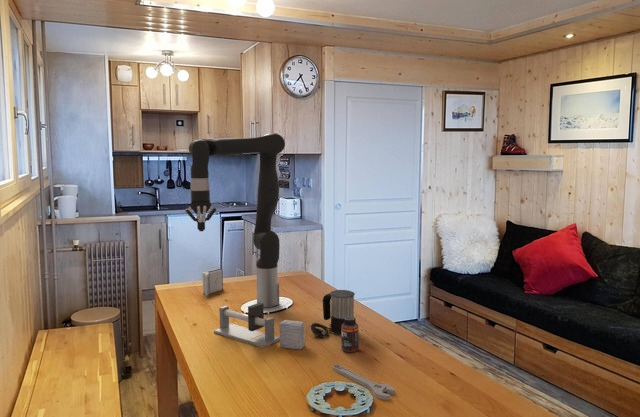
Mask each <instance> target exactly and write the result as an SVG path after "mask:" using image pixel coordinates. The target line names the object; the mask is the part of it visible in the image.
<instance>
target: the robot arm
mask: <svg viewBox="0 0 640 417" xmlns="http://www.w3.org/2000/svg"><path fill="white" fill-rule="evenodd" d="M285 147H286V141H285V138H284V137H283V136H282V135H281V134H279V133H275V132H271V133H265V134H264V135H262V136H258V137H231V138H230V137H227V138H216V139H195V140H193V141H191V142H190V143H189V145H188V152H189V153H190V155H191V160H192V162H191V163H192V164H191V165H190V204H189V206H188V207H187V208H185V210H184V211H185V213H186V214H187V215H188V216H189V218H190V219H191V220H193V221H194V222H196V224H197V230H198V231H199V232H204V231H205V230H206V222H207V221H210V220H211V219H212V217H213V215H214V214H215V213H216V211H217V208H216V207H214V206H212V203H211V196H210V195H211V194H210V192H211V191H210V178H209V173H210V172H209V162H210V157H212V156H214V157H215V156H217V157H218V156H219V157H220V156H221V157H223V156H237V155H244V154H254V153H255V154H257V153H259V172H258V173H259V174H258V181H257V182H258V185H257V194H256V195H257V200H256V216H255V217H256V218H255V223H254V224H255V225H254V231H253V238H252V242H253V245H254V247H255V248H256V249H257V250H259V251H260V252H259V253H260V254H259V258H258V259H257V260H256V261H255V262H256V263H255V264H256V266H255V267H256V268H255V269H256V270H255V271H256V272H255V273H256V304H257V303H264V307H269V308H274V307H277V306H280V284H279V282H278V274H279V273H278V263H279V261H280V248H281V246H280V238H279V235H278V233H276V232H274V231H272V229H271V228H272V226H271V225H272V218H273V216H274V213H275V210H276V208H277V206H278V202H279V198H280V197H279V196H280V182H279V176H278V172H277V157H278V154H281V153H282V152H283V151H284V149H285ZM208 211H209V212H208ZM192 212H193V213H195V215H194V214H193V213H192ZM207 213H208V214H207ZM195 216H196V217H195ZM276 305H277V306H276ZM273 306H274V307H273Z"/></svg>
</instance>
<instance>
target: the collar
mask: <svg viewBox="0 0 640 417" xmlns="http://www.w3.org/2000/svg"><path fill="white" fill-rule="evenodd" d="M264 309H265V308H264V303H257V302H256V303H255V304H251V305H249V306H247V315H248V322H247V325H248V327H247V328H248V330H249V331H252V332H253V331H255V330H256V331H258V330H260V329H262V328H265V326H261V325H258V324H257V325H255V317H259V318H262V319H265V315H264V313H265V310H264Z"/></svg>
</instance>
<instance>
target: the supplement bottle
mask: <svg viewBox="0 0 640 417" xmlns="http://www.w3.org/2000/svg"><path fill="white" fill-rule="evenodd" d="M340 337H341V340H340V341H341V343H340V344H341V350H342V351H343V352H345V353H356V352H357V351H359V349H360V348H359V345H360V344H359V339H360V338H359V337H360V335H359V323H357V321H356V316H355V317H354V316H353V317H352V316H348V317H345V318H344V323H343V324H342V326H341V336H340Z"/></svg>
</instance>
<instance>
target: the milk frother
mask: <svg viewBox="0 0 640 417" xmlns="http://www.w3.org/2000/svg"><path fill="white" fill-rule="evenodd" d="M354 308H355V292H354V291H351V290H347V289H336V290H332V291H331V292H329V293H327V294H324V296H323V297H322V311H323V313H322V314H323V316H322V317H323V320H324V321H329V320H330V324H329V325H330V326H329V327H327V326H326V325H324V324H321V323H317V322H315V323H312V324H311V326H310V330H311V333H313V334H314V335H315V336H317V337H321V338H325V337H328V336H329V334H330V333H332V334H336V335H341V326H342V324H343V323H344V318H345V317H348V316H352V317H354V316H355V315H354ZM324 332H325V333H324Z"/></svg>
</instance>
